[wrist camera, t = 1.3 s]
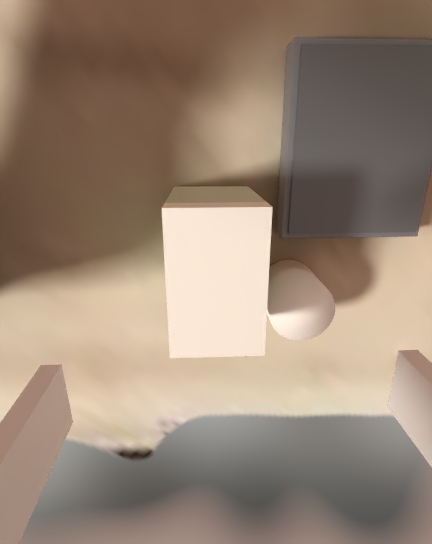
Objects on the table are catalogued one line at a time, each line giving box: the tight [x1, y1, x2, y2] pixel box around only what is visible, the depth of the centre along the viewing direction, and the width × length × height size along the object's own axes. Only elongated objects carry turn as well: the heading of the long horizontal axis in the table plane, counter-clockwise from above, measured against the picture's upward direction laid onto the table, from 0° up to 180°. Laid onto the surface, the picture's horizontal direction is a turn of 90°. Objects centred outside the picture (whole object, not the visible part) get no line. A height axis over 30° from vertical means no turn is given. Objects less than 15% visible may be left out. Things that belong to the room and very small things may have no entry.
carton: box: [161, 186, 273, 358], centre depth 29 cm, size 7×11×12 cm, turn 0°
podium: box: [276, 38, 432, 238], centre depth 31 cm, size 13×16×3 cm
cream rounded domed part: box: [267, 260, 335, 340], centre depth 34 cm, size 6×6×6 cm
